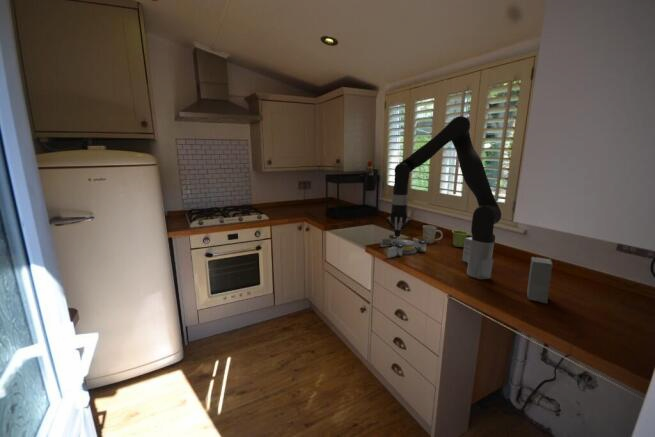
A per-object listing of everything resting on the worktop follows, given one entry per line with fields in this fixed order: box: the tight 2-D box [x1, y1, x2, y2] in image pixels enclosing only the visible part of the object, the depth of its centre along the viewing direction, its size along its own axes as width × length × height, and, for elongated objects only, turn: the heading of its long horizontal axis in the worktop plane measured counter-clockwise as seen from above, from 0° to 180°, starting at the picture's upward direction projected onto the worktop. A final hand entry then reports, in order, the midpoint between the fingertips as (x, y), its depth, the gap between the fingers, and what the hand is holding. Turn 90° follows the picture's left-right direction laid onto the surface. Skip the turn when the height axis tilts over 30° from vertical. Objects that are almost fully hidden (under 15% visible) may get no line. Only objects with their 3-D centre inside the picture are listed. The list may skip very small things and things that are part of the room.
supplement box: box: [461, 236, 472, 264], centre depth 154 cm, size 7×7×13 cm
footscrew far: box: [380, 234, 398, 248], centre depth 176 cm, size 11×5×6 cm, turn 118°
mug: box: [422, 224, 444, 244], centre depth 187 cm, size 8×13×10 cm, turn 82°
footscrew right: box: [412, 237, 428, 253], centre depth 172 cm, size 11×5×6 cm, turn 16°
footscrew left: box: [387, 243, 404, 259], centre depth 159 cm, size 11×5×6 cm, turn 130°
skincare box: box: [526, 256, 554, 304], centre depth 116 cm, size 8×7×16 cm
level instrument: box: [391, 238, 418, 256], centre depth 169 cm, size 14×14×6 cm
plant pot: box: [451, 230, 470, 248], centre depth 182 cm, size 9×9×9 cm
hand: (397, 236), depth 152 cm, fingers closed
